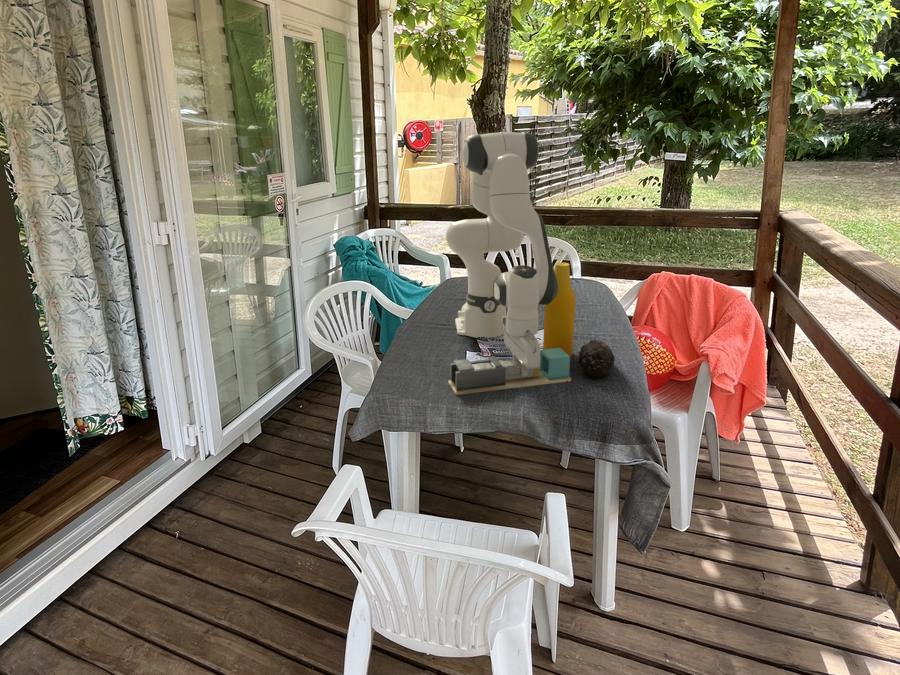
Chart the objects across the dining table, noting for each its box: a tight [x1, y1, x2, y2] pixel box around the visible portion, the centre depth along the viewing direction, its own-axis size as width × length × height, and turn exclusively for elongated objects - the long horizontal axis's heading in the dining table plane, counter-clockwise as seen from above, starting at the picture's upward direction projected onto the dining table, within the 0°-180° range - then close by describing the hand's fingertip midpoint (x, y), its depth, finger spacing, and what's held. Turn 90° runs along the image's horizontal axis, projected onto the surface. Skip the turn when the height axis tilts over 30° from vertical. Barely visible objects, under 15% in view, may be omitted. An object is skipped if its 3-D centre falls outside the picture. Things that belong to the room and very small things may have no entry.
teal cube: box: [540, 348, 571, 380], centre depth 181 cm, size 7×6×7 cm
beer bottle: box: [542, 262, 576, 357], centre depth 193 cm, size 9×9×29 cm
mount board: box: [447, 372, 572, 396], centre depth 179 cm, size 8×34×1 cm, turn 104°
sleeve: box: [449, 355, 506, 391], centre depth 176 cm, size 7×14×6 cm, turn 104°
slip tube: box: [471, 359, 540, 380], centre depth 177 cm, size 4×20×4 cm, turn 104°
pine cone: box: [578, 339, 616, 382], centre depth 185 cm, size 10×18×10 cm, turn 174°
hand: (520, 371), depth 179 cm, fingers closed on slip tube, 4 cm apart
